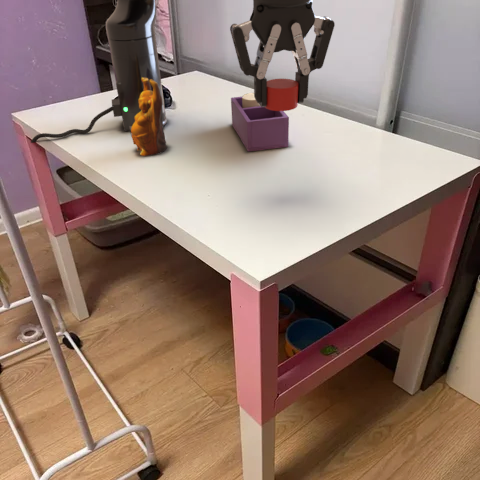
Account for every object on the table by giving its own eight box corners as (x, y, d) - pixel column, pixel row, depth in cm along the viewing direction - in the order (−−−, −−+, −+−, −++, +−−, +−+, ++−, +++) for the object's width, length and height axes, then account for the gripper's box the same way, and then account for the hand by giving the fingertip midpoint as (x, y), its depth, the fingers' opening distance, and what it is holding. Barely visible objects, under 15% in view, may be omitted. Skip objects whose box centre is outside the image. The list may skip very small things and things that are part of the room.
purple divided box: (248, 151, 97) (247, 122, 94) (232, 125, 109) (230, 97, 105) (288, 146, 98) (289, 117, 95) (268, 120, 110) (268, 93, 106)
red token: (268, 112, 71) (268, 90, 69) (260, 101, 74) (260, 80, 73) (301, 109, 72) (302, 86, 70) (292, 98, 75) (293, 77, 73)
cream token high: (245, 116, 102) (244, 101, 100) (240, 109, 105) (239, 94, 103) (268, 114, 102) (268, 98, 100) (262, 106, 106) (262, 91, 104)
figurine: (129, 151, 99) (116, 82, 91) (155, 141, 103) (146, 73, 95) (149, 160, 96) (138, 88, 88) (176, 149, 100) (168, 79, 91)
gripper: (330, -49, 66) (320, 91, 77) (220, -42, 64) (226, 100, 75) (351, -43, 60) (337, 107, 71) (231, -36, 58) (236, 117, 69)
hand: (280, 102), depth 73 cm, fingers closed on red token, 4 cm apart
